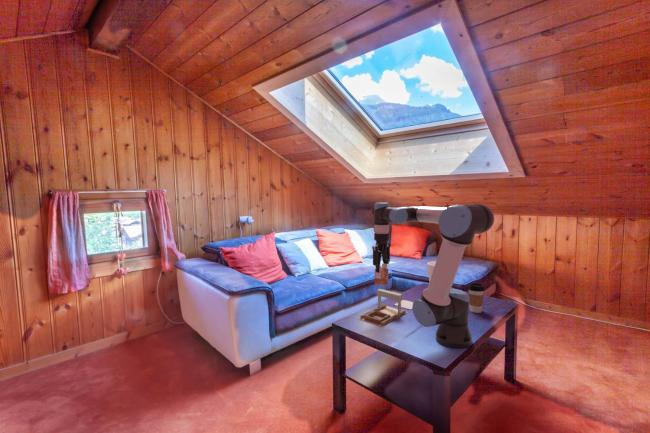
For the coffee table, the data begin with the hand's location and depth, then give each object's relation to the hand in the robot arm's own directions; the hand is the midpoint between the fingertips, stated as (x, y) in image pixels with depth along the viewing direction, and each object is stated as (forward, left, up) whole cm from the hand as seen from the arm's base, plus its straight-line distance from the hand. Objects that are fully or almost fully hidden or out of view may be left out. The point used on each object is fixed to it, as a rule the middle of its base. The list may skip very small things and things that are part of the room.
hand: (381, 277), depth 169 cm
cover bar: (+6, -3, -20) cm, 21 cm away
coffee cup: (+25, -49, -23) cm, 59 cm away
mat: (+25, -12, -23) cm, 35 cm away
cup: (+43, -29, -23) cm, 56 cm away
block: (0, 0, -4) cm, 4 cm away
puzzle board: (+2, -1, -23) cm, 23 cm away
